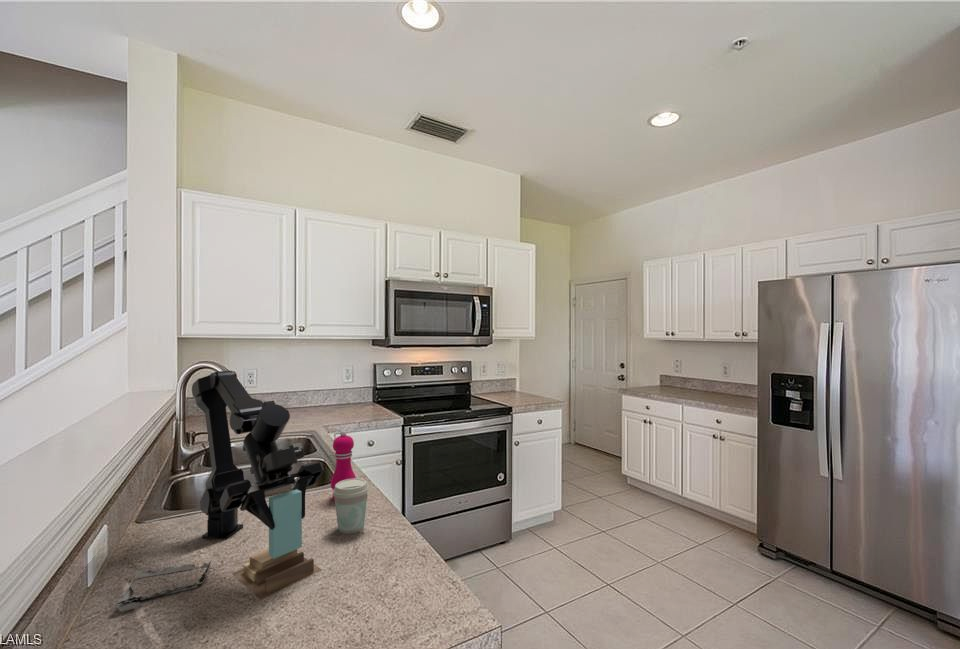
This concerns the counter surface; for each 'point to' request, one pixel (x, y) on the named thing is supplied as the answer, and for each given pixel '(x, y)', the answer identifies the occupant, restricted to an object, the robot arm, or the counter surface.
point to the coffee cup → (351, 505)
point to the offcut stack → (262, 562)
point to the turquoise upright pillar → (285, 523)
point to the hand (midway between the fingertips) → (288, 522)
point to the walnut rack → (279, 575)
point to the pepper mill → (342, 459)
